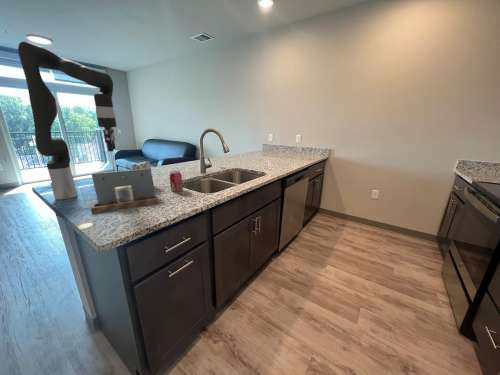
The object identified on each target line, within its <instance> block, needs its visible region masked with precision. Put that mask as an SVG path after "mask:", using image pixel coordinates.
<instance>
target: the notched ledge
mask: <svg viewBox="0 0 500 375" xmlns="http://www.w3.org/2000/svg"><path fill="white" fill-rule="evenodd" d="M155 203H156V204H158V203H157V197H156V194H154V195H151V196H143V197H136V198H134V201H132V202H131V201H129V202H122V203H117V200H114V201H107V202H100V203H98V202H94V203H93V204H92V206H91V207H90V210H91V211H90V212H91V214H97V213H98V214H99V213H103V212H110V211H115V210H122V209H123V210H124V209H128V208H130V209H131V208H136V207H143V206H149V205H154V204H155ZM156 204H155V205H156Z"/></svg>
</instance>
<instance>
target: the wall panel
mask: <svg viewBox="0 0 500 375" xmlns="http://www.w3.org/2000/svg"><path fill="white" fill-rule="evenodd" d="M151 173H152V170H151V171H150V169H138V170H133V169H129V170H128V169H127V170H118V171H117V170H116V171H106V172H105V171H104V172H93V173H91V177H92V181H93V187H94V186H95V188H94V191H96V192H95V195H96V198H97V203H100V202H107V201H114V200H117V198H116V193H115V187H122V186H130V185H131V187H132V193H133V198H136V197H143V196H151V195H155V193H154V192H155V191H154V183H153V184H152V179H153V177H152V178H151Z"/></svg>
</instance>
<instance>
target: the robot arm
mask: <svg viewBox="0 0 500 375" xmlns="http://www.w3.org/2000/svg"><path fill="white" fill-rule="evenodd" d="M17 48H18V49H17V51H18V57H19V61H20V64H21V66H22V70H23V74H24V78H25V81H26V86H27V90H28V97H29V102H30V108H31V111H32V112H31V113H32V117H33V118H32V119H33V123H34V124H33V125H34V134H35V135H34V137H35V138H34V139H35V140H34V141H35V146H36V150H37V152H38V153H39V154H40V155H41V156H43V157H51V158H52V159H51V160H50V161H48V162H47V163H46V167H47V171H48V174H49V178H50V180H51V181H50V186H51V190H52V193H53V196H54V200H58V201H59V200H61V201H62V200H69V199H73V198H76V197H77V196H79V194H78V190H77V187H76V184H75V180H74V175H73V172H72V168H71V158H70V152H69V147H68V145H67V142H66V141H65V139H63V138H60V137H57V136H54V137H52V126H53V124H54V122H55V120H56V118H57V116H58V107H57V102H56V97H55V95H54V94H53V92H52V91H51V90H50V88H49V87H48V85H47V84H46V83H45V81H44V80H43V78H42V76H41V71H40V69H48V70H54V71H59V72H61V73H64V74H65V75H66V76H69V77H70V78H73V79H76V80H77V81H81V82H83V83H85V84H87V85H89V86H91V87H95V88H99V92H98V93H94V95H93V100H94V104H95V113H96V114H95V115H96V120H97V125H98V127H99V128H104V129H103V130H102V131H103V136H104V142H105V144H106V148H107V151H108V152H114V150H116V144H115V142H116V137H115V130H114V128H117V127H118V126H117V118H116V114H115V112H116V111H115V109H114V104H113V93H114V92H113V91H114V81H113V79H112V77H111V75H109V74H108V73H106V72H103V71H99V70H96V69H93V68H90V67H88V66H86V65H83V64H81V63H78V62H76V61H74V60H70V59H66V58H64V57H61V56H59V55H58V54H56V53H54V52H53V51H51V50H49V49H47V48H46V47H44V46H41V45H38V44H35V43H32V42H29V41H25V40H24V41H20V42H19V43H18V47H17Z"/></svg>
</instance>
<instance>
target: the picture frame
mask: <svg viewBox="0 0 500 375" xmlns="http://www.w3.org/2000/svg"><path fill="white" fill-rule="evenodd" d="M115 193H116V198H117V203H122V202H129V201H131V202H132V201H134V198H133V193H132V187H131V185H130V186H122V187H115Z"/></svg>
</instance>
